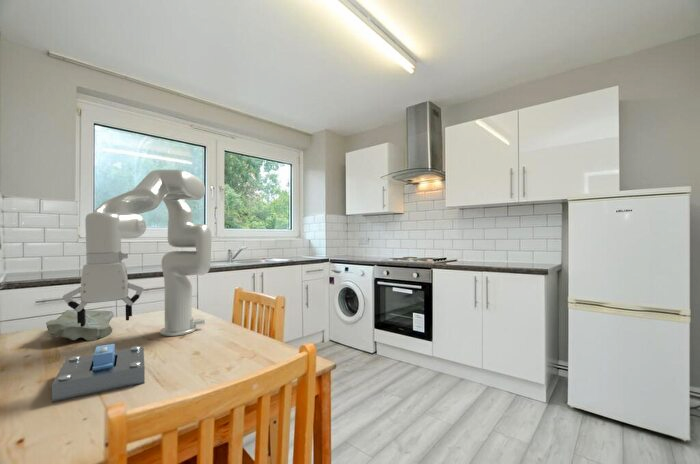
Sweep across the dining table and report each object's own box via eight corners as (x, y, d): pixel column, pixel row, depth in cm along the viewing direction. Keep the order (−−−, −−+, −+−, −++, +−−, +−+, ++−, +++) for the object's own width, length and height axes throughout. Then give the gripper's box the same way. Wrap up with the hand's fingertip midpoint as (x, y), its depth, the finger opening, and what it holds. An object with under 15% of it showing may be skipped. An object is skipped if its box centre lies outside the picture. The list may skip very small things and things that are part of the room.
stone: (112, 326, 120) (38, 326, 109) (108, 348, 119) (34, 351, 109) (118, 307, 144) (58, 305, 133) (115, 325, 143) (55, 325, 133)
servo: (115, 368, 94) (115, 338, 94) (112, 383, 84) (112, 350, 84) (97, 371, 91) (97, 341, 91) (92, 387, 82) (92, 353, 82)
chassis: (143, 360, 100) (143, 344, 100) (144, 383, 85) (144, 364, 85) (66, 374, 91) (66, 356, 91) (51, 402, 75) (51, 381, 75)
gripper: (142, 255, 96) (143, 314, 96) (64, 259, 86) (66, 324, 87) (142, 258, 90) (144, 320, 90) (58, 262, 80) (61, 332, 81)
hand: (106, 322), depth 89 cm, fingers open, 9 cm apart
